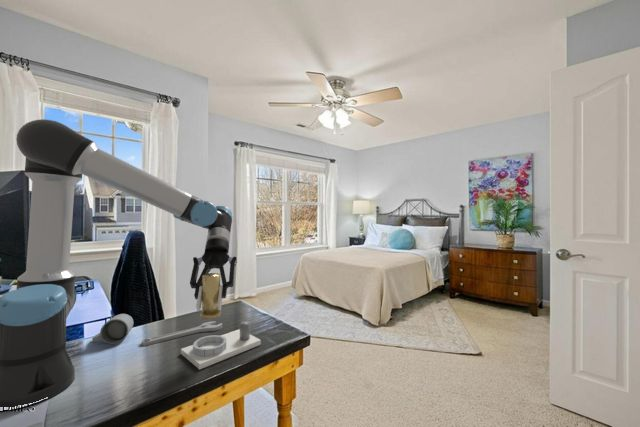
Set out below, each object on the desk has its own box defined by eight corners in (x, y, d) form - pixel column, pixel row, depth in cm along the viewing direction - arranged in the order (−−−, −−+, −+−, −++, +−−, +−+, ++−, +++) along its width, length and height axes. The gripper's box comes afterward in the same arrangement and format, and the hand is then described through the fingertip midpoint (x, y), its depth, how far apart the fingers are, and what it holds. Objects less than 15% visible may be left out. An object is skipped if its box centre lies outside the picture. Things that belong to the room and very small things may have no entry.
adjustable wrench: (141, 348, 89) (141, 342, 89) (140, 340, 94) (140, 335, 94) (223, 329, 103) (223, 324, 103) (218, 323, 108) (218, 319, 108)
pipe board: (199, 369, 77) (199, 345, 77) (180, 353, 85) (181, 332, 85) (260, 344, 92) (261, 324, 92) (239, 333, 100) (240, 314, 100)
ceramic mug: (134, 331, 99) (134, 309, 99) (128, 342, 92) (127, 318, 92) (98, 336, 96) (97, 313, 96) (87, 347, 88) (87, 322, 88)
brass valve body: (198, 319, 82) (198, 277, 82) (202, 312, 88) (202, 273, 87) (219, 318, 83) (220, 276, 83) (222, 310, 89) (222, 272, 89)
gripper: (245, 250, 102) (241, 312, 86) (191, 250, 98) (177, 316, 82) (244, 236, 97) (240, 300, 81) (187, 236, 93) (171, 303, 77)
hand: (208, 308), depth 82 cm, fingers closed on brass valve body, 5 cm apart
